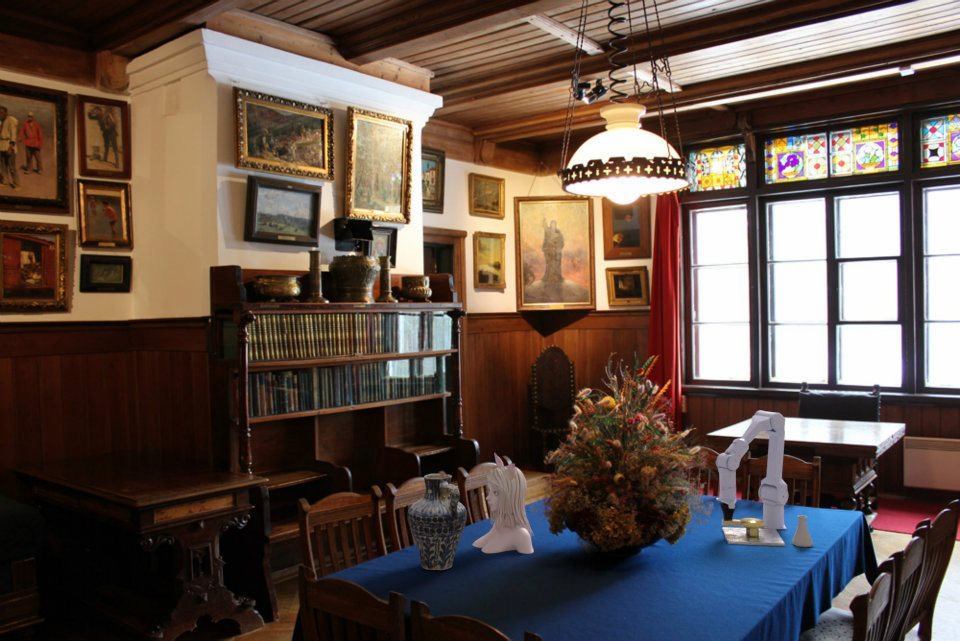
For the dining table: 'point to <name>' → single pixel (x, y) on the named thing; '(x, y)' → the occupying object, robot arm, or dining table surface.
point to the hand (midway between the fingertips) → (728, 523)
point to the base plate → (744, 538)
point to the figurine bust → (506, 511)
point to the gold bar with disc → (746, 524)
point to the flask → (802, 533)
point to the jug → (437, 522)
